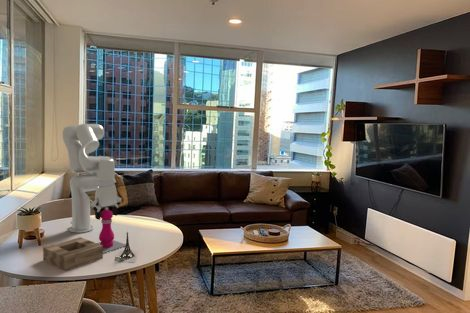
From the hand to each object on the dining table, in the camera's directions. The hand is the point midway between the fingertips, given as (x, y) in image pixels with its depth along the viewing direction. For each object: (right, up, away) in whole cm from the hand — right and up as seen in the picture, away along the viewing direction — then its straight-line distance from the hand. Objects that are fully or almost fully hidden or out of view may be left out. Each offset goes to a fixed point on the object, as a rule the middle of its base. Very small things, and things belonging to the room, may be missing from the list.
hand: (106, 217), depth 176 cm
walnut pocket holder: (-10, -17, -15) cm, 24 cm away
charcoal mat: (0, -15, +1) cm, 15 cm away
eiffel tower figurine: (+13, -18, -10) cm, 24 cm away
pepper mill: (0, -15, +1) cm, 15 cm away
